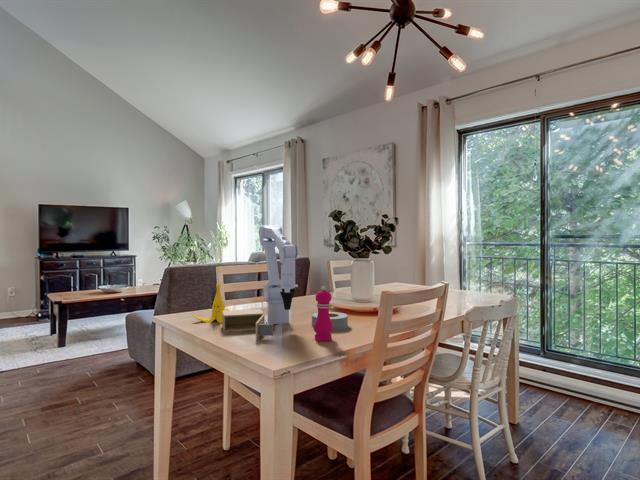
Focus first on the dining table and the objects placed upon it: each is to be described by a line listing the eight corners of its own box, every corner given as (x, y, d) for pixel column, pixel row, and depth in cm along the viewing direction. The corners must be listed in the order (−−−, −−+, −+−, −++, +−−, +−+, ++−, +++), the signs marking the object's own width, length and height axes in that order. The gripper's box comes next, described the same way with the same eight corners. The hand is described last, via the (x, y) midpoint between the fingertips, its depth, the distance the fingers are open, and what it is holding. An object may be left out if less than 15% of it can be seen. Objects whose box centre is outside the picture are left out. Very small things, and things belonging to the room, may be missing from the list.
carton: (260, 323, 170) (260, 308, 170) (263, 329, 161) (263, 313, 160) (222, 326, 165) (222, 310, 165) (223, 331, 156) (223, 315, 156)
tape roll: (323, 321, 177) (323, 310, 177) (353, 325, 170) (353, 313, 169) (304, 328, 164) (305, 316, 164) (336, 333, 156) (337, 320, 156)
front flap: (263, 329, 160) (263, 314, 160) (277, 329, 160) (278, 314, 159) (255, 339, 144) (255, 323, 144) (272, 339, 144) (272, 323, 144)
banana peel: (233, 324, 169) (234, 286, 169) (192, 323, 171) (192, 285, 171) (245, 316, 185) (246, 281, 185) (207, 315, 188) (207, 280, 187)
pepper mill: (316, 342, 142) (316, 287, 141) (311, 337, 149) (311, 285, 148) (335, 341, 144) (335, 287, 143) (329, 336, 151) (329, 284, 150)
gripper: (297, 276, 151) (297, 311, 151) (298, 272, 165) (298, 304, 166) (279, 276, 151) (279, 311, 151) (281, 272, 165) (281, 304, 165)
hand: (287, 307), depth 158 cm, fingers open, 7 cm apart
